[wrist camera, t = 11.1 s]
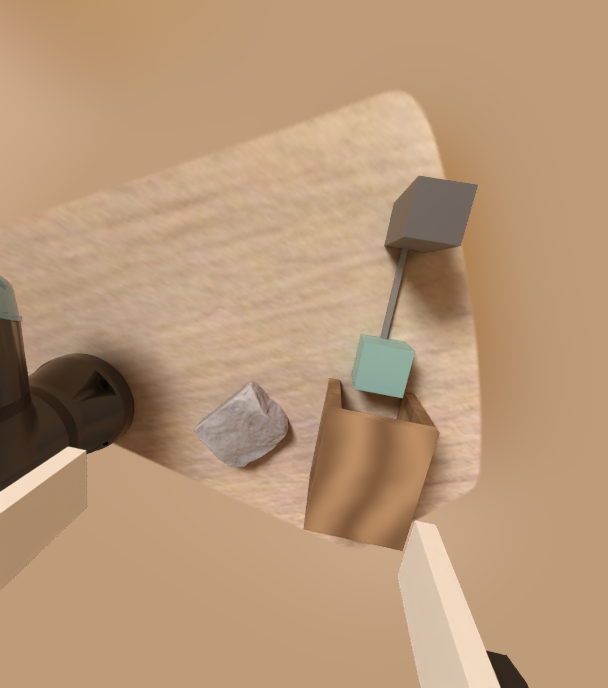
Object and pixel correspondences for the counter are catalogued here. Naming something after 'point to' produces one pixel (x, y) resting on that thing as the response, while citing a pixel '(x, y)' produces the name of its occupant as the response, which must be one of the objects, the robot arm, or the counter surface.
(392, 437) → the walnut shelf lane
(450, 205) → the tethered block
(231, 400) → the stone block
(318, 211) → the counter surface
